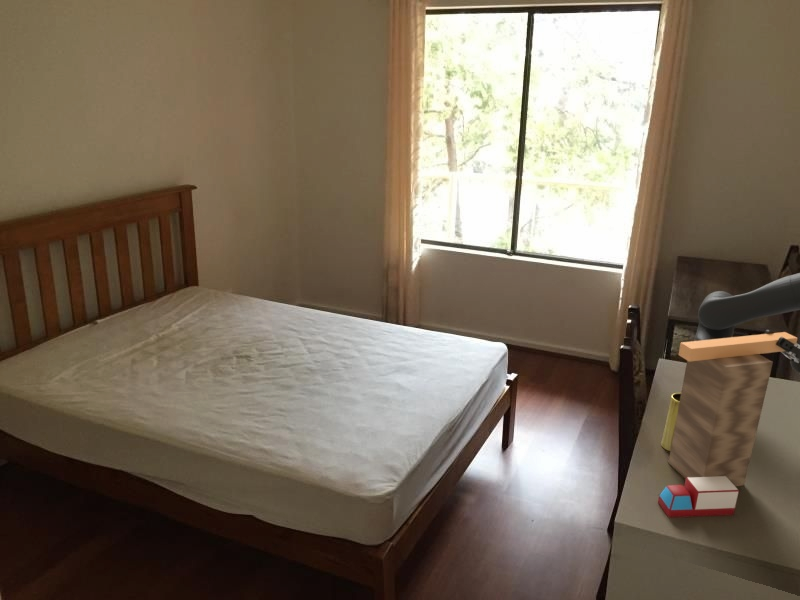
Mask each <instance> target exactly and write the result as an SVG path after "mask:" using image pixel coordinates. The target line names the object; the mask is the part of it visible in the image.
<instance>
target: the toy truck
mask: <svg viewBox="0 0 800 600" xmlns="http://www.w3.org/2000/svg"><path fill="white" fill-rule="evenodd" d="M684 481H685V482H684V485H683V484H670V485H666V486H665V487H664V489H663V490H662V492H661V493H660V494H659V496H658V500H657V504H659V506H660V507H661V509H662V510H663V512H664V513H665V515H666V516H667V517H668V518H682V517H683V518H687V517H688V518H689V517H690V518H691V517H710V516H712V517H713V516H716V517H717V516H734V515H735V510H736V509H737V508H736V506H737V501H738V496H739V492H740V491H739V489H738V488H737V486H734V485H733V484H732V482H731V481H730V480H729V479H728V478H727V477H726V476H716V477H687V478H686V479H685V480H684Z"/></svg>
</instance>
